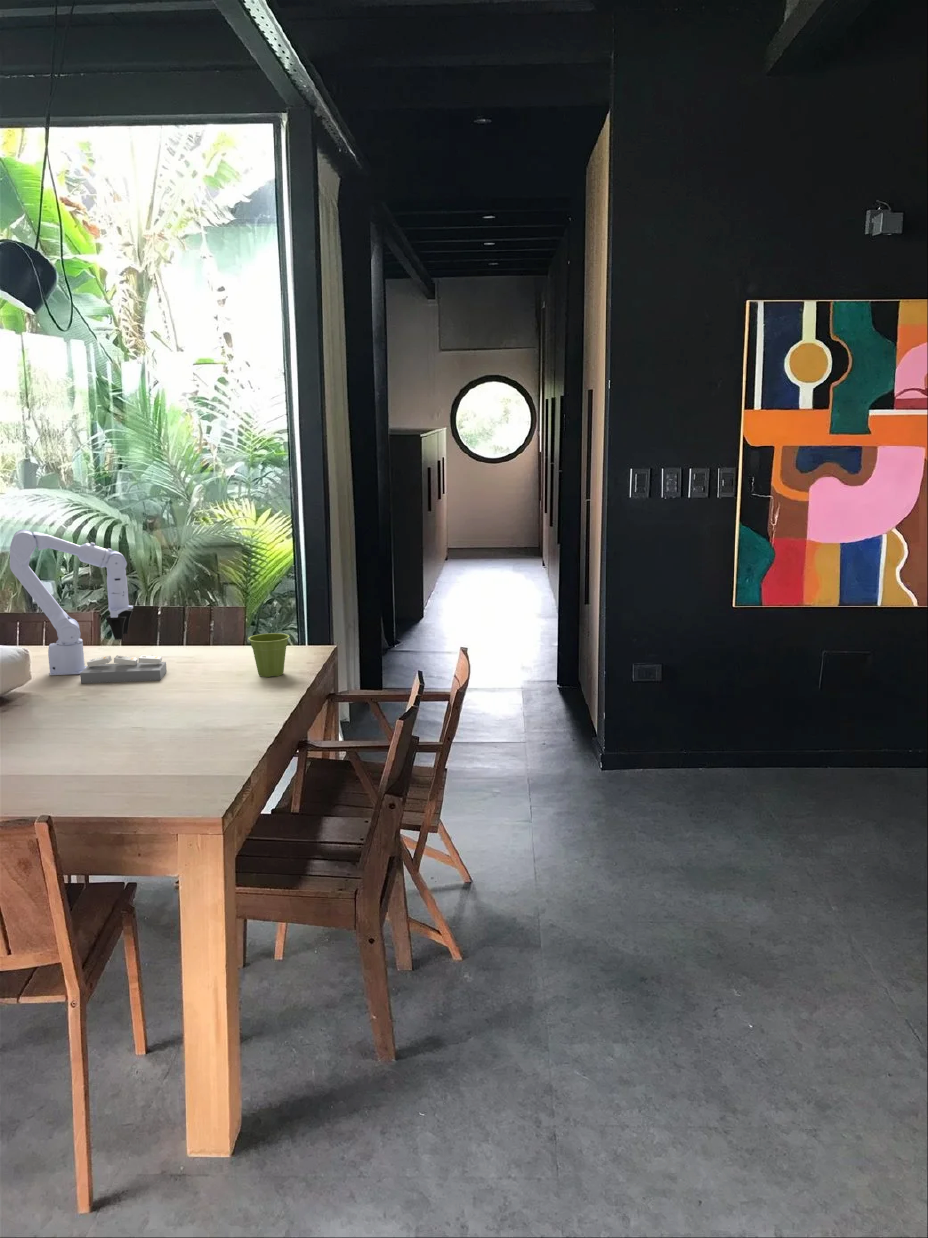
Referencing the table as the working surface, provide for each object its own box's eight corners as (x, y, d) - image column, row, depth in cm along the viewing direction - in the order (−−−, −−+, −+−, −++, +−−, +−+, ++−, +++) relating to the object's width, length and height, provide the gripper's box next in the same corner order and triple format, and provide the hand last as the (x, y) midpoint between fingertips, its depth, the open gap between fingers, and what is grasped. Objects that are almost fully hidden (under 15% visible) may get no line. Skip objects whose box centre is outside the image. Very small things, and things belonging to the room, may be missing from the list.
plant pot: (295, 669, 290) (294, 632, 288) (284, 680, 278) (283, 641, 276) (257, 669, 291) (255, 632, 289) (244, 679, 280) (242, 641, 277)
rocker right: (138, 662, 282) (138, 657, 282) (140, 659, 286) (140, 654, 286) (159, 663, 283) (159, 658, 283) (161, 660, 287) (162, 656, 286)
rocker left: (87, 667, 281) (86, 662, 281) (90, 664, 284) (89, 659, 284) (108, 663, 281) (107, 658, 281) (111, 660, 285) (110, 655, 284)
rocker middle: (113, 662, 282) (114, 658, 281) (116, 660, 285) (116, 655, 285) (135, 665, 282) (135, 660, 282) (137, 662, 286) (137, 657, 286)
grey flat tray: (81, 683, 276) (80, 672, 276) (89, 674, 286) (88, 664, 285) (160, 680, 279) (159, 669, 278) (166, 671, 289) (165, 661, 288)
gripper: (126, 595, 284) (130, 641, 286) (136, 587, 298) (139, 630, 300) (101, 596, 283) (105, 642, 286) (112, 588, 297) (116, 631, 300)
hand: (121, 636), depth 293 cm, fingers open, 7 cm apart
